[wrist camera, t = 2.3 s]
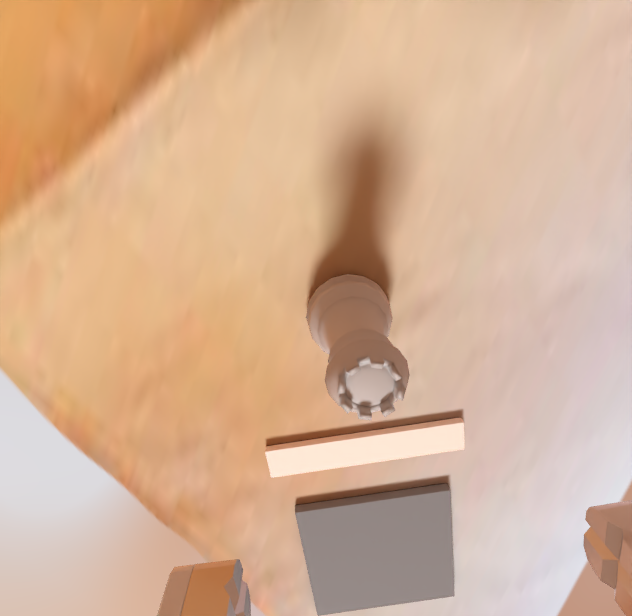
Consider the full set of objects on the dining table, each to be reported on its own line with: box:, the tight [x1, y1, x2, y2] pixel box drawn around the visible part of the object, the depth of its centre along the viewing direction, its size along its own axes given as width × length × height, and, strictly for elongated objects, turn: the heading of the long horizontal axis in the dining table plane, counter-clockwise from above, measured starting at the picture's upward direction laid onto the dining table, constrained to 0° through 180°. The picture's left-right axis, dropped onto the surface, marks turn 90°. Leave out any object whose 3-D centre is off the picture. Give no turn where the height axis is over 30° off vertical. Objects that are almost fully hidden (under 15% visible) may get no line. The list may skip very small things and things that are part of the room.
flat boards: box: [265, 417, 464, 616], centre depth 28 cm, size 15×12×1 cm
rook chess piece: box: [306, 274, 410, 420], centre depth 19 cm, size 4×4×8 cm
